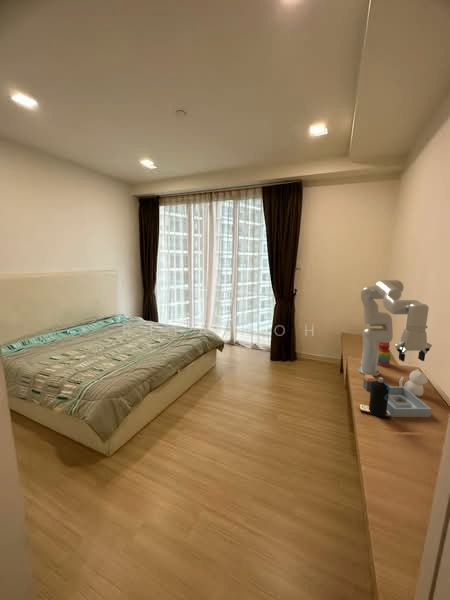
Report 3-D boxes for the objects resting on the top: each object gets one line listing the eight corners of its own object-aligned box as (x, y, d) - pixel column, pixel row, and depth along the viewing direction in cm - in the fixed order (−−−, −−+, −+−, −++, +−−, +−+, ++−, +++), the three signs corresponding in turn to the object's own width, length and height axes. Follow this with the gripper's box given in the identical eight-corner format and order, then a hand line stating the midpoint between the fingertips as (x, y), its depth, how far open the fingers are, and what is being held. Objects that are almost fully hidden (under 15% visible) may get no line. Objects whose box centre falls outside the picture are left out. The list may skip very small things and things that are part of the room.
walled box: (370, 394, 139) (371, 386, 138) (402, 394, 138) (403, 386, 137) (393, 418, 119) (394, 408, 118) (430, 418, 118) (431, 409, 117)
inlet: (386, 399, 132) (386, 395, 132) (400, 399, 132) (401, 395, 131) (395, 409, 124) (396, 404, 124) (411, 409, 124) (412, 404, 123)
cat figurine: (426, 400, 132) (431, 375, 129) (399, 394, 138) (403, 371, 135) (422, 391, 140) (426, 368, 137) (396, 386, 146) (400, 364, 143)
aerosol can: (368, 415, 121) (372, 380, 117) (367, 406, 129) (370, 372, 125) (388, 420, 118) (392, 384, 114) (385, 410, 125) (389, 375, 121)
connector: (363, 388, 146) (364, 374, 144) (369, 388, 145) (370, 374, 143) (366, 391, 142) (367, 378, 140) (373, 391, 141) (374, 378, 140)
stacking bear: (386, 361, 179) (389, 338, 175) (393, 367, 169) (396, 344, 166) (371, 360, 181) (373, 338, 178) (376, 366, 171) (379, 343, 168)
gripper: (427, 325, 119) (422, 356, 123) (392, 326, 120) (389, 357, 124) (440, 330, 112) (434, 363, 116) (403, 331, 113) (398, 363, 116)
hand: (411, 360), depth 120 cm, fingers open, 9 cm apart
